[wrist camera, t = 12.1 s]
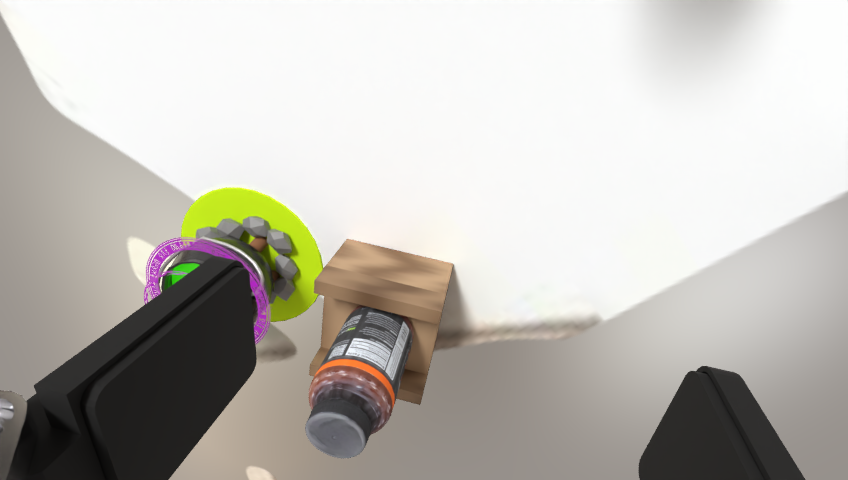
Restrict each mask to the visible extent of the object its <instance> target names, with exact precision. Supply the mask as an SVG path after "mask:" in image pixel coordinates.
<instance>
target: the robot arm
mask: <svg viewBox="0 0 848 480" xmlns="http://www.w3.org/2000/svg"><path fill="white" fill-rule="evenodd" d="M255 366H256V347H255V334H254V322H253V310H252V298H251V286H250V275H249V272H248V270H246V269H244V266H243V264H242V262H240V261H237V260H233V259H229V258H224V257H220V256H213V257H211V258H209V259H208V260H206V261H205V262H203V263H202V264H201V265H199V266H198V267H197V268H195V269H194V270H192V271H191V272H190V273H188V274H187V275H185V276H184V277H183V278H181V279H180V280H179V281H177V282H176V283H174V284H173V285H172V286H170V287H169V288H168V289H166V290H165V291H163V292H162V293H161V294H159V295H158V296H157V297H155V298H154V299H152V300H151V301H150V302H148V303H147V304H145V305H144V306H143V307H141V308H140V309H139V310H137V311H136V312H134V313H133V314H132V315H130V316H129V317H128V318H126V319H125V320H123V321H122V322H121V323H119V324H118V325H117V326H115V327H114V328H112V329H111V330H110V331H108V332H107V333H106V334H104V335H103V336H101V337H100V338H99V339H97V340H96V341H94V342H93V343H92V344H90V345H89V346H88V347H87V348H85V349H83V350H82V351H81V352H79V353H78V354H77V355H75V356H74V357H73V358H71V359H70V360H68V361H67V362H65V363H64V364H63V365H61V366H60V367H59V368H57V369H56V370H55V371H53V372H52V373H50V374H49V375H48V376H46V377H45V378H44V379H42V380H41V381H39V382H38V383H37V384H35V385H34V388H35V390H36V394H35V395H34V396H32V397H31V398H30V399H28V400H27V401H25V399H24V398H23V396H22V395H19V394H17V393H15V392H12V391H4V390H0V480H168V479H169V478H170V477H171V476H172V474H173V473H174V472H175V471H176V469H177V468H178V467H179V466H180V464H181V463H182V462H183V461H184V459H185V458H186V457H187V455H188V454H189V453H190V452H191V450H192V449H193V448H194V447H195V445H196V444H197V443H198V442H199V440H200V439H201V438H202V437H203V435H204V434H205V433H206V432H207V430H208V429H209V428H210V426H211V425H212V424H213V423H214V421H215V420H216V419H217V417H218V416H219V415H220V414H221V413H222V411H223V410H224V409H225V407H226V406H227V405H228V404H229V402H230V401H231V400H232V399H233V397H234V396H235V395H236V394H237V392H238V391H239V390H240V389H241V387H242V386H243V385H244V384H245V382H246V381H247V380H248V378H249V377H250V376H251V374H252V373H253V371H254V369H255ZM639 478H640V480H805V478H804V477H803V475H802V473H801V472H800V470H799V469H798V467H797V465H796V464H795V462H794V461H793V459H792V458H791V456H790V454H789V453H788V451H787V450H786V448H785V446H784V445H783V443H782V441H781V440H780V438H779V437H778V435H777V433H776V432H775V430H774V428H773V427H772V425H771V424H770V422H769V420H768V419H767V417H766V416H765V414H764V413H763V411H762V409H761V408H760V406H759V404H758V403H757V401H756V400H755V398H754V397H753V395H752V393H751V392H750V390H749V389H748V387H747V385H746V384H745V382H744V380H743V379H742V378H741V376H740V375H738V374H737V373H734V372H730V371H725V370H721V369H716V368H712V367H708V366H702V367H700V368H698V370H697V371H690V372H688V373H687V375H686V376H685V378H684V380H683V382H682V383H681V385H680V387H679V389H678V391H677V392H676V394H675V396H674V398H673V400H672V402H671V403H670V405H669V407H668V409H667V411H666V413H665V414H664V416H663V418H662V420H661V422H660V424H659V425H658V427H657V429H656V431H655V433H654V434H653V436H652V438H651V440H650V442H649V444H648V445H647V448H646V449H645V451H644V453H643V455H642V456H641V459H640V463H639Z"/></svg>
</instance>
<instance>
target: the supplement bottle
mask: <svg viewBox="0 0 848 480" xmlns="http://www.w3.org/2000/svg"><path fill="white" fill-rule="evenodd" d="M413 331H414V330H413V327H412V324H411V322H410V321H409V319H408V318H407V316H403V315H399V314H395V313H391V312H387V311H383V310H379V309H375V308H371V307H367V306H363V305H359V306H358V307H356V308H355V309H354V310H353V311H352V312H351V313H350V315H349V316H348V318H347V319H346V321H345V323H344V325H343V326H342V328H341V330H340V332H339V333H338V335H337V337H336V339H335V341H334V342H333V344H332V346H331V348H330V350H329V351H328V353H327V355H326V357H325V358H324V360H323V362H322V364H321V366H320V367H319V369H318V371H317V373H316V375H315V376H314V379H313V380H312V383H311V386H310V389H309V403H310V406H311V409H312V411H311V415H310V417H309V419H308V421H307V423H306V427H305V429H306V435H307V437H308V439H309V440H310V442H311V443H312V444H313V445H314V446H315V447H316V448H317V449H318V450H320V451H322V452H323V453H325V454H327V455H330V456H333V457H337V458H351V457H354V456H356V455H358V454H360V453H361V452H362V451H363V449H364V447H365V445H366V443H367V441H368V438H369V436H370V435H371V434H373V433H375V432H377V431H378V430H380V429H381V428H382V427H383V426H384V425H385V424H386V423H387V421H388V420H389V417H390V416H391V413H392V409H393V406H394V404H395V400H396V397H397V393H398V390H399V387H400V383H401V380H402V377H403V373H404V370H405V367H406V364H407V360H408V357H409V354H410V351H411V347H412V343H413V338H414V334H413Z"/></svg>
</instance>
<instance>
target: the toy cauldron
mask: <svg viewBox="0 0 848 480" xmlns="http://www.w3.org/2000/svg"><path fill="white" fill-rule="evenodd" d="M174 239H176V238H174ZM171 240H173V239H171ZM179 240H181V242H175V243H172V245H174V244H176V245H177V246H178V247H179V248H180V249H178V250H176V249H175V250H174V247H173V246H172V248H173V250H174V251H173V250H172V248H171V246H170V245H171V244H169V245H167V246H165V247H164V248H165V249H166V250H167V251H168V252H169V253H170V254H169V255H168V252H166V251H165V250H164V248H162V249H161V250H162V251H163V252H164V253H165V254H164V253H163V252H162V251H161V250H160V251H159V252H158V253H159V254H158V253H157V254H156V255H155V253H156V252H157V251H158V250H159V249H160V248H161V247H163V246H164V245H166V244H168V243H171V242H174V241H179ZM169 241H170V240H168V242H167V241H166V242H167V243H165V242H164V243H165V244H164V245H162V246H160V245H161V244H160V245H159V246H160V247H159V246H158V247H159V248H158V247H157V248H158V249H157V248H156V249H155V250H156V252H155V253H153V252H154V251H155V250H154V251H153V252H152V253H153V254H152V253H151V255H153V256H154V255H155V257H154V259H155V261H156V259H157V261H156V262H155V261H154V259H153V261H152V263H153V262H155V263H153V264H152V263H151V260H152V258H153V256H152V257H151V255H150V257H151V259H150V257H149V259H150V260H149V259H148V261H150V262H149V265H148V262H147V265H148V272H147V267H146V281H147V275H148V283H147V285H146V287H145V291H144V295H145V292H146V289H147V288H148V289H149V288H150V286H151V288H152V291H153V294H154V295H155V294H157V295H159V294H161V293H162V292H163V291H165V290H166V289H168V288H169V287H170V286H172V285H173V284H174V283H176V282H177V281H179V280H180V279H181V278H183V277H184V276H185V275H187V274H188V273H190V272H191V271H192V270H194V269H195V268H197V267H198V266H199V265H201V264H202V263H203V262H205V261H206V260H208V259H209V258H211V257H213V256H220V257H224V258H229V259H233V260H237V261H240V262H242V264H243V266H244V269H246V270H248V272H249V275H250V286H251V298H252V310H253V322H255V321H256V320H257V322H255V323H256V325H255V324H254V325H255V327H254V332H255V333H256V334H255V333H254V334H255V335H256V336H257V337H256V336H255V340H256V339H257V338H258V337H259V336H260V334H261V333H262V331H263V329H264V327H265V324H266V321H267V325H268V324H270V322H276V321H285V320H288V319H291V318H294V317H297V316H298V315H300V314H301V313H303V312H305V311H306V310H307V309H308V308H309V307H310V306H311V305H312V304H313V303H314V302H315V301H316V299H317V297H318V295H319V294H315V293H314V280H315V279H316V278H317V276H318V275H319V274H320V273H321V271H322V270H323V265H322V260H321V255H320V252H319V250H318V247H317V244H316V242H315V240H314V238H313V237H312V235H311V234H310V232H309V230H308V229H307V227H306V226H305V225H304V224H303V223H302V221H301V220H300V219H299V218H298V217H297V216H296V215H295V214H294V213H293V212H292V211H290V210H289V209H288V208H287V207H286V206H284V205H283V204H281V203H280V202H278V201H276V200H275V199H273V198H271V197H270V196H267V195H265V194H262V193H259V192H257V191H254V190H249V189H244V188H222V189H217V190H213V191H211V192H209V193H207V194H205V195H203V196H201V197H200V198H199V199H198V200H197V201H196V202H194V203H193V204H192V206H191V207H190V208H189V210H188V212H187V213H186V215H185V218H184V221H183V224H182V231H181V239H177V240H174V241H170V242H169ZM179 243H181V244H179ZM162 244H163V243H162ZM180 245H182V246H181V247H182V248H181V247H180ZM178 247H177V248H178ZM173 253H174V254H173ZM161 254H162V257H163V259H162V257H159V255H160V256H161ZM163 254H164V255H165V256H164V255H163ZM166 254H167V255H166ZM171 254H173V255H172V256H170V255H171ZM178 254H179V255H178ZM177 255H178V256H177ZM168 256H170V258H169V259H168V258H167V257H168ZM176 256H177V258H176V259H175V261H174V262H173V263H172V265H171V267H169V268H168V270H167V271H166V273H165V272H163V271H164V269H165V268H166V266H167V265H168V264H169V263H170V262H171V260H172V259H173V258H175V257H176ZM166 258H167V259H168V260H167V261H166V260H165V259H166ZM164 260H165V261H166V262H165V263H164V264H163V266H162V267H161V268H160V266H161V264H162V263H163V261H164ZM159 261H160V262H161V263H160V262H159ZM157 262H158V264H159V263H160V264H159V265H158V264H157ZM150 263H151V266H154V267H155V268H157V267H158V266H159V267H158V268H157V269H153V268H154V267H153V268H152V267H151V268H150V274H151V276H150V280H149V266H150ZM155 265H156V266H155ZM157 265H158V266H157ZM151 269H152V270H154V272H155V271H156V270H157V271H156V272H157V273H155V274H154V272H153V271H152V270H151ZM159 269H160V270H159ZM147 273H148V274H147ZM162 273H164V274H163V275H162ZM152 274H153V275H154V277H152ZM155 276H157V277H155ZM162 276H163V279H162V286H161V289H162V292H161V290H160V286H159V283H160V279H161V277H162ZM149 282H150V283H151V282H152V283H153V282H154V283H155V285H154V283H153V284H152V283H151V284H149ZM148 284H149V286H148ZM152 286H155V287H154V288H153V287H152ZM151 288H150V291H151ZM154 290H156V291H154ZM150 291H149V292H150ZM152 291H151V293H152ZM154 292H157V293H154ZM153 294H151V295H152V297H153ZM157 295H155V297H156V296H157ZM147 296H148V293H146V298H145V296H144V301H146V299H147ZM152 299H154V297H153V298H152ZM147 303H148V299H147ZM145 304H146V303H145ZM259 321H260V322H261V323H260V322H259ZM262 321H265V322H262ZM268 322H269V323H268ZM258 323H260V324H258ZM262 323H263V324H262ZM261 324H262V325H261ZM257 325H258V326H259V327H258V326H257ZM263 325H264V326H263ZM267 325H266V328H267V327H268V328H269V325H268V326H267ZM260 326H261V327H262V328H263V329H262V328H260ZM266 328H265V330H268V329H266ZM255 330H256V331H258V332H256V331H255ZM265 330H264V332H263V334H264V333H265ZM266 332H267V331H266ZM257 333H258V334H259V335H257ZM263 334H262V335H263ZM265 334H266V333H265ZM265 334H264V336H265ZM262 335H261V336H260V337H259V339H260V338H261V337H262ZM264 336H263V337H264ZM263 337H262V338H263ZM262 338H261V339H262ZM259 339H258V340H259ZM261 339H260V340H261ZM258 340H256V341H255V343H256V342H257V341H258ZM258 342H259V341H258ZM258 342H257V343H258ZM257 343H256V344H257Z"/></svg>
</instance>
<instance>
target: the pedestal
mask: <svg viewBox="0 0 848 480" xmlns="http://www.w3.org/2000/svg"><path fill="white" fill-rule="evenodd" d="M452 267H453V264H451V263H447V262H443V261H439V260H434V259H430V258H426V257H422V256H418V255H413V254H409V253H405V252H401V251H397V250H392V249H388V248H384V247H380V246H375V245H371V244H367V243H363V242H359V241H354V240H350V239H347V240H346V241H345V242H344V243H343V245H342V246H341V247H340V249H339V250H338V251H337V252H336V254H335V255H334V256H333V257H332V259H331V260H330V261H329V262H328V264H327V265H326V266H325V268H324V269H323V270H322V271H321V273H320V274H319V275H318V276H317V278H316V279H315V280H314V293H315V294H319V295H323V296H324V308H323V323H322V337H321V348H320V349H319V351H318V353H317V354H316V356H315V357H314V359H313V361H312V363H311V364H310V372H309V375H311V376H315V375H316V373H317V371H318V369H319V367H320V366H321V364H322V362H323V360H324V358H325V357H326V355H327V353H328V351H329V350H330V348H331V346H332V344H333V342H334V341H335V339H336V337H337V335H338V333H339V332H340V330H341V328H342V326H343V325H344V323H345V321H346V319H347V318H348V316H349V315H350V313H351V312H352V311H353V310H354V309H355V308H356V307H358V306H359V305H363V306H367V307H371V308H375V309H379V310H383V311H387V312H391V313H395V314H399V315H403V316H407V318H408V319H409V321H410V322H411V324H412V327H413V330H414V331H413V334H414V338H413V343H412V347H411V351H410V354H409V357H408V360H407V364H406V367H405V370H404V373H403V377H402V380H401V383H400V387H399V390H398V393H397V397H396V399H400V400H404V401H408V402H411V403H416V404H419V405H420V403H421V399H422V395H423V390H424V387H425V383H426V379H427V375H428V370H429V367H430V362H431V358H432V354H433V350H434V346H435V342H436V337H437V333H438V329H439V324H440V320H441V315H442V311H443V307H444V302H445V298H446V294H447V289H448V285H449V281H450V276H451V272H452Z"/></svg>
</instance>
